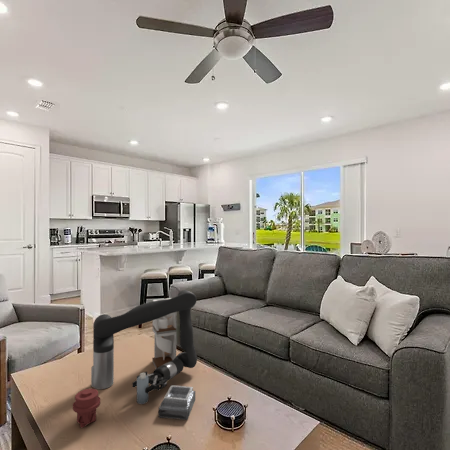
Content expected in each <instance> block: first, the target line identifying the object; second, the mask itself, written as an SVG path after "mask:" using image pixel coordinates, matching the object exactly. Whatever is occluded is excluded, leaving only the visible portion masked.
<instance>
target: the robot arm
mask: <svg viewBox="0 0 450 450" xmlns="http://www.w3.org/2000/svg"><path fill="white" fill-rule="evenodd" d="M170 298H171V299H167V298H166V299H167V300H159V301H153V300H152V301H149V302H145V303H142V304H140V305H137V306H135V307H134V308H132V309H130V310H128V311H127V312H125V313H123V314H121V315H117V316H111V315H109V314H100V315H98V316H97V317H96V318H95V319H94V321H93V329H92V330H93V331H92V332H93V333H92V334H93V336H92V337H93V340H92V346H93V348H92V349H93V351H92V353H93V354H92V355H93V357H92V358H93V361H92V362H93V364H92V366H91V370H90V371H91V372H90V373H91V374H90V375H91V378H90V379H91V380H90V381H91V382H90V383H91V387H90V388H93V389H96V390H106V389H107V388H110V387H112V386H113V385H114V380H115V379H114V378H115V377H114V374H115V373H114V371H115V370H114V367H115V366H114V365H115V364H114V363H115V362H114V360H115V359H114V357H115V356H114V353H115V348H114V347H115V341H114V338H115V337H114V335H115V334H117V333H119V332H121V331H124V330H127V329H130V328H134V327H137V326H139V325H140V326H141V325H143V324H146V323H149V322H153V320H155V319H158V318H161V317H163V316H166V315H168V314H171V313H174V312H177V313H178V314H179V341H180V342H179V345H180V348H181V349H182V350H184V351H182V352H179V353H178V354H176V357H175V359H174V360H172V361H170V362H168V363H165V364H163V365H162V366H160V367H158V368H155V369H154V370H153V371H152V373H148V371H144V372H143V373H146V376H148V377H149V384H148V387H147V388H146V389H145V393H148V394H149V393H151V392H152V391H157V392H158V391H160V390H162V389H164V388H165V387H166V386H167V384H168V381H170V380H172V379H173V378H174V377H175V376H177V375H179V374H180V373H181V372H182V371H183V370H184V368H188V369H193V368H194V367H196V365H197V362H198V355H197V352H196V351H197V350H196V349H195V343H194V329H193V328H194V327H193V322H192V315H191V314H192V311H191V309H192V308H194V307H195V305H196V303H197V300H198V299H197V295H195V293H194V292H192V291H189V290H187V289H183V290H181V291H179V293H177V295H176V296H175V297H170ZM139 376H140V374H139V375H138V374H137V376H136V380H134V381H132V383H131V387H132V388H137V378H138V377H139Z"/></svg>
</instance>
